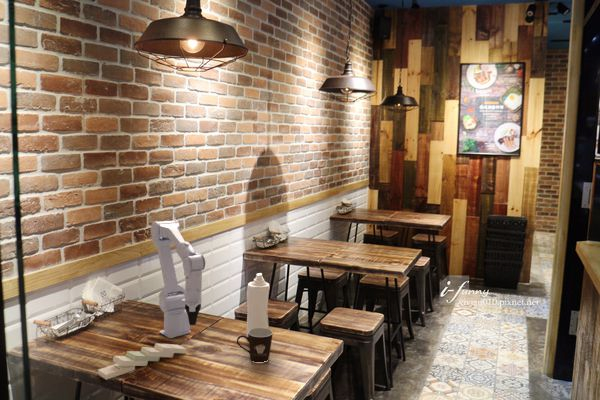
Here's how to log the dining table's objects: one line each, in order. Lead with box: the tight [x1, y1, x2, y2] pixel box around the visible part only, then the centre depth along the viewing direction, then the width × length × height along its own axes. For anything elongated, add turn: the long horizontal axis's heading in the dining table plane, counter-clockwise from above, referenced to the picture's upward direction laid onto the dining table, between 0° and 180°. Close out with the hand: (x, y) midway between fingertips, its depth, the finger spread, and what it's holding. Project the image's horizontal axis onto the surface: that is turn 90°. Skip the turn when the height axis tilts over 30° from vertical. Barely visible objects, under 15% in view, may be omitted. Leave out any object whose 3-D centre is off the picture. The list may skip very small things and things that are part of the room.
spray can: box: [246, 272, 271, 337], centre depth 197 cm, size 12×11×25 cm
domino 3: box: [125, 350, 161, 362], centre depth 172 cm, size 2×5×10 cm
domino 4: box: [139, 346, 175, 358], centre depth 176 cm, size 2×5×10 cm
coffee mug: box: [236, 328, 274, 362], centre depth 179 cm, size 12×9×10 cm
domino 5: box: [153, 342, 187, 355], centre depth 180 cm, size 2×5×10 cm
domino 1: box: [97, 363, 136, 380], centre depth 166 cm, size 2×5×10 cm
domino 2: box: [112, 355, 149, 367], centre depth 169 cm, size 2×5×10 cm
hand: (192, 324), depth 187 cm, fingers closed
